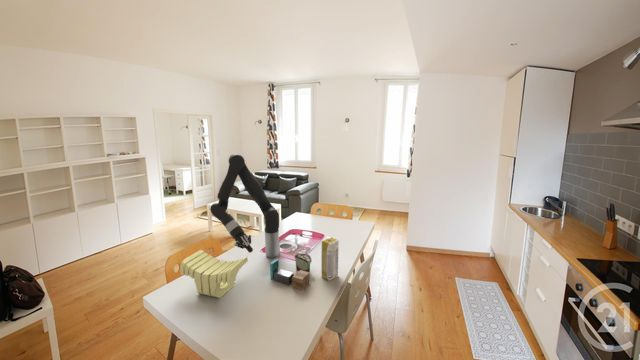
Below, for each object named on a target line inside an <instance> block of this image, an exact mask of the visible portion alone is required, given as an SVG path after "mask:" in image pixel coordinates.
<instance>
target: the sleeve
mask: <svg viewBox="0 0 640 360" xmlns="http://www.w3.org/2000/svg"><path fill="white" fill-rule="evenodd" d="M294 275H295V272H292V271H289V270H287V269H282V268H279V269H278V270H277V271H275V272H274V280H273V281H274V282H276V283H278V284H281V285H282V284H283V285H286V286H290V285H292V284H293V282H290V279H289V278H290V277H291V276H294Z"/></svg>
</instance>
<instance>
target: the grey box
mask: <svg viewBox="0 0 640 360" xmlns="http://www.w3.org/2000/svg"><path fill="white" fill-rule="evenodd" d="M279 267H280V265H279V259H277V258H276V259H274V260H273V261H272V262H270V263H269V268H270V269H269V272H270V274H269V275H270V281H274V272H275V271H277V270H278V269H280V268H279ZM289 279H290V282H292V283H293V276H291V277H290V278H289Z"/></svg>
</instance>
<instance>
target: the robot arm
mask: <svg viewBox="0 0 640 360" xmlns="http://www.w3.org/2000/svg"><path fill="white" fill-rule="evenodd" d="M238 177H239V179H240V181H241V183H242V185H243V186H244V188H245V190H246V192H247V193H248V195H249V197H250V198H251V199H252V200H253V201H254V202H255V204H256V205H257V206H258V207H259V209H260V212H261V213H262V215H263V217H264V238H265V239H264V243H265V244H264V246H265V256H266V257H267V258H269V259H272V258H276V257H279V255H280V253H281V250H280V249H281V246H280V242H281V241H280V238H279V237H280V236H279V235H280V233H279V232H280V231H279V229H280V214H279V212H278V209H276V208H275V207H274V206H273V205H272V203H271V202H270V200H269V199H268V197H267V195H266V192H265V190H264V189H263V187H262V185H261V183H260V181H258V180H257V178H256V177H255V176H254V175H253V173H251V171H250V169H249V168H248V166H247V164H246V163H245V157H243V155H241V154H239V153H233V154H231V155H230V156H229V157H228V169H227V173H226V176H225V178H224V179H223V181H222V183H221V186H220V187H219V191H218V192H217V195H216V196H217V199H218V203H217V202H214V203H213V204H211V206H210V208H209V209H210V213H211V214H212V215H213V216H214V217H215V218H216V219H217V220H218V221H220V223H221V224H222V226H224V228H225V229H226V231H227V233H229V235H230V236H231V238H232V239H234V241H235V243H234V244H233V245H234V246H236V247H237V248H240V249H245V250H246V251H247V252H248V253H252V252H253V251H254V248H253V247H252V246H251V244H252V235H251V234H249V235H247V233H245V230H244V229H243V228H242V227H241V225H240V224H239V222H238V221H237V220H236V219H235V218H234V217H233V215H232V214H231V213H228V212H227V209H228V207H229V201H230V200H229V199H230V198H231V197H230V196H231V194H232V191H233V188H234V186H235V183H236V180H237V178H238Z"/></svg>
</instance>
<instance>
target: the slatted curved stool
mask: <svg viewBox="0 0 640 360" xmlns="http://www.w3.org/2000/svg"><path fill="white" fill-rule="evenodd" d="M247 262H248V256H246V257H243V258H240V259H236V260H223V259H219V258H217V257H213V256H212V255H210V254H209V253H208V252H206V251H204V250H203V249H199V250H198V251H196V252H193V253H192V254H191V255H189V256H187V257H185V258H184V259H183V260H182V261H181V262H180V266H179V271H180V276H187V277H190V278H191V279H194V283H195V287H196V290H197V294H200V295H206V296H209V297H213V298H222V297H223V296H224V295H225V294H226V293H228V291H230V290H231V289H232V288H233V287H234V286H235V285H236V282H235V281H236V280H237V278H236V277H237V275H238V272H240V270H241V268H243V266H245V264H246V263H247Z"/></svg>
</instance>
